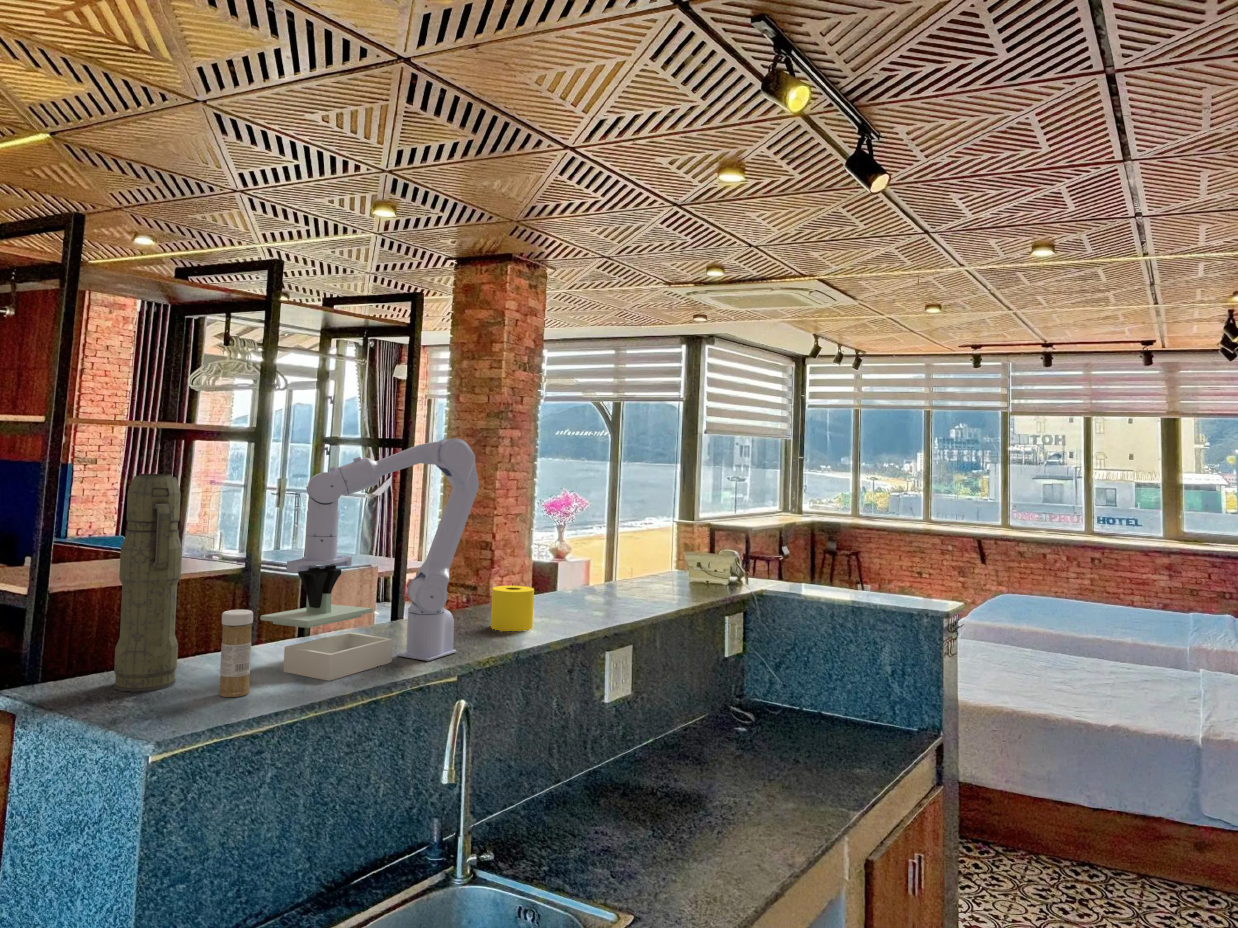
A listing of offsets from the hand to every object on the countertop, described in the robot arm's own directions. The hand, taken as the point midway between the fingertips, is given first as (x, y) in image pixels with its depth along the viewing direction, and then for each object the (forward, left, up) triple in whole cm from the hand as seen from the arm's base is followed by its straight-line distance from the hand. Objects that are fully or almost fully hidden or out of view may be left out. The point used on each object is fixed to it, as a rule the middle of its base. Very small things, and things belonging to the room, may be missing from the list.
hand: (318, 606), depth 150 cm
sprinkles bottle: (+22, +5, -11) cm, 25 cm away
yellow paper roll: (-50, +12, -11) cm, 52 cm away
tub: (0, +6, -11) cm, 12 cm away
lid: (0, 0, -3) cm, 3 cm away
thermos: (+26, -11, -11) cm, 30 cm away
